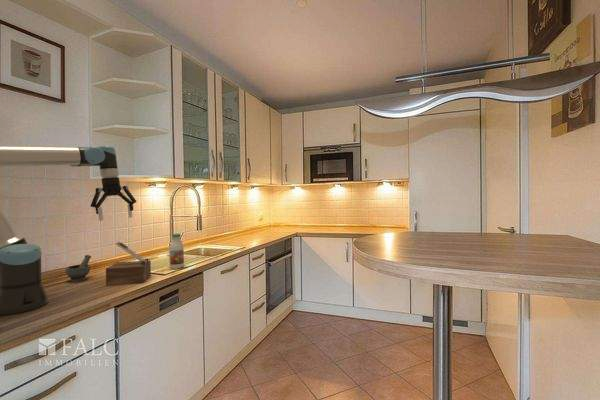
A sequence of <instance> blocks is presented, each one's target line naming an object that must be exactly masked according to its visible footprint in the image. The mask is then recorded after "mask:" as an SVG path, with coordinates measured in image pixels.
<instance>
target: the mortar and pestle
mask: <svg viewBox="0 0 600 400" xmlns="http://www.w3.org/2000/svg"><path fill="white" fill-rule="evenodd" d="M91 258H92V256H91V255H90V254H86V255H84V258H83V260H82V262H81V263H80V264H75V265H70V266H67V267H65V274H66V276H67V277H69V278H70V282H71V283H76V282H78V281H79V282H83V281H86V280H87V277H86V276H87V275H88V274H89V272H90V270H91V265H90V264H89V262H90V259H91Z"/></svg>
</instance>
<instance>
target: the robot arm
mask: <svg viewBox="0 0 600 400" xmlns="http://www.w3.org/2000/svg"><path fill="white" fill-rule="evenodd" d="M68 165H69V166H70V167H74V168H75V167H77V168H79V167H99V171H100V177H101V184H102V188H101V187H96V188H95V194H94V196H93V198H92V200H91V203H90V207H91V208H94V209H95V213H96V215H98V221H99V222H101V221H104V215H103V209H102V208H103V207H101V205H102V204H103V203H104V201H105V200H106V199H107V197H112V196H118V197H120V198H121V199H122V200H124V202H126V203H127V206H126V207H127V212H128V217H129V218H133V211H134V204H135V203H137V199H135V197H134V196H133V194H132V193H131V192H130V190H129V188H128V185H123V186H121V181H120V177H119V169H118V161H117V153H116V150H115V147H114V146H112V145H101V146H86V147H85V146H83V147H82V146H33V145H31V146H28V145H27V146H26V145H25V146H24V145H23V146H22V145H0V167H2V168H4V167H31V166H32V167H34V166H35V167H36V166H68ZM121 190H122V191H123V192H124V193H125V194H126V195H125V194H124V193H123V192H122V191H121ZM102 192H103V193H102ZM101 193H102V195H101ZM100 195H101V197H100ZM99 198H100V199H99ZM42 253H43V252H42V250H41V246H39V245H37V244H32V243H28V242H27V241H26V238H25V237H24V236H22V235H18V234H17V233H16V231H15V229H14V228H13V226H12V224H11V223H10V221H9V220H8V218H7V216H6V214H5V213H4V211H3V209H2V207H1V206H0V316H4V315H5V316H6V315H8V316H9V315H15V314H21V313H25V312H28V311H29V312H30V311H33V310H36V309H38V308H41V307H43V306H45V305H46V304H48V302H49V301H48V299H49V298H48V295H47V292H46V290H45V288H44V286H43V284H42Z"/></svg>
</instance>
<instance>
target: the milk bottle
mask: <svg viewBox="0 0 600 400" xmlns="http://www.w3.org/2000/svg"><path fill="white" fill-rule="evenodd" d="M171 238H172V240H171V243H170V246H169V255H168V259H169V269H170V270H178V269H177V268H180V269H182V268H181V267H183V268H184V267H185V260H184V259H185V256H184V254H185V251H184V250H185V249H184V245H183V242H182V241H181V238H182V237H181V233H172V235H171Z"/></svg>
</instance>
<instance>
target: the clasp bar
mask: <svg viewBox="0 0 600 400" xmlns="http://www.w3.org/2000/svg"><path fill="white" fill-rule="evenodd" d="M115 245H116V246H118V247H119V248H121V250H124V251H125V252H126V253H127V254H129V255H131V256H132V257H133V258H135V259H136V260H137V261H145V262H147V260H145V259H146V258H143V257H142V256H140V255H139V254H138V253H137V252H135V251H133V250H132V249H130V248H129V247H128V246H127V245H126V244H124V243H123V242H120V241H118V242H116V243H115Z"/></svg>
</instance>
